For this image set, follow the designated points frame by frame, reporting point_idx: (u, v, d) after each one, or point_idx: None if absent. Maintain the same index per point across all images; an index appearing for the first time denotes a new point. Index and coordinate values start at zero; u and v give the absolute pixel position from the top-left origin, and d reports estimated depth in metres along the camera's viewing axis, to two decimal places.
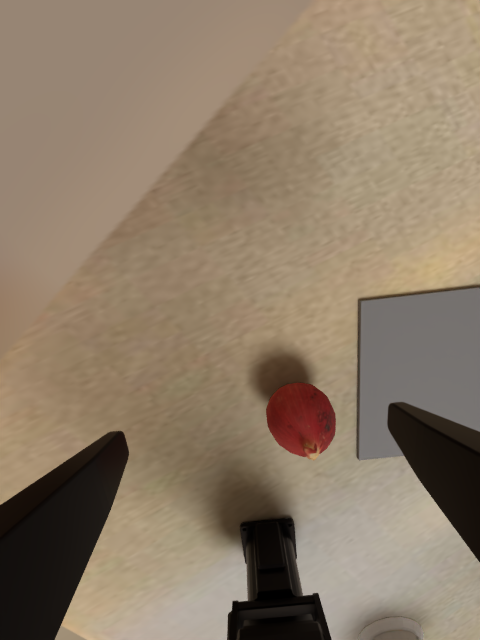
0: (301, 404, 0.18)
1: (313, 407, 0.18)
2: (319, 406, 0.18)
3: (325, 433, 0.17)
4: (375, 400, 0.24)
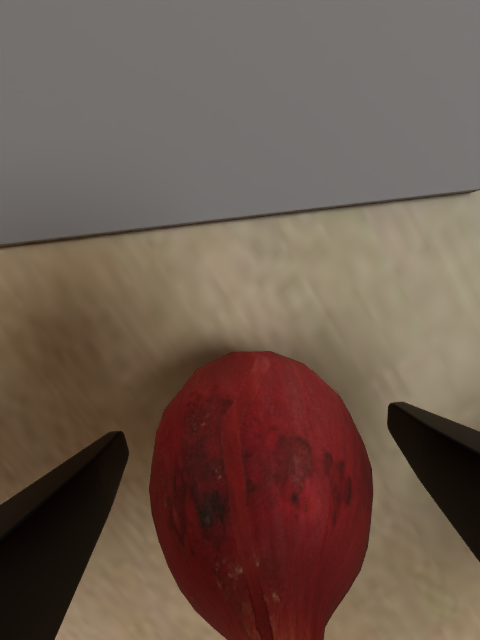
0: None
1: (158, 505, 0.05)
2: (161, 478, 0.05)
3: (227, 542, 0.04)
4: (273, 161, 0.08)
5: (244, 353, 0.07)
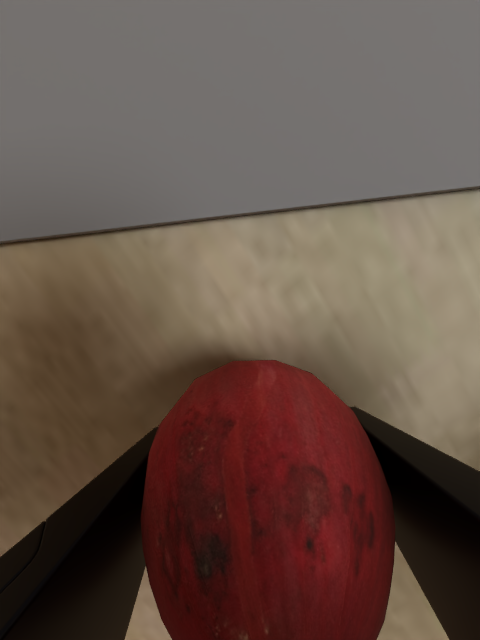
0: (148, 566, 0.05)
1: (149, 540, 0.04)
2: (153, 509, 0.04)
3: (229, 600, 0.03)
4: (277, 153, 0.07)
5: (247, 362, 0.06)
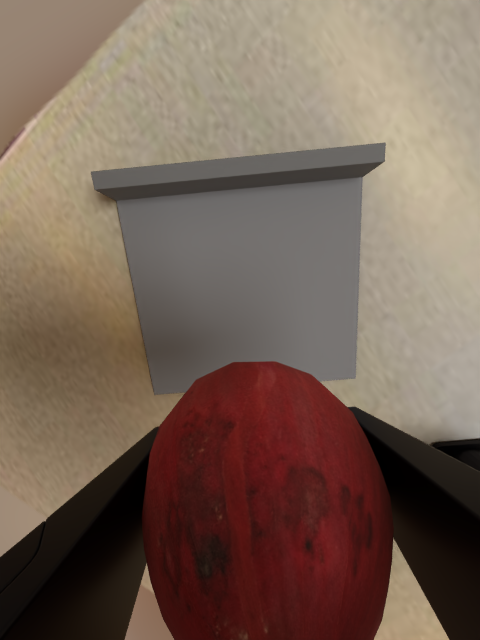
0: None
1: (150, 540, 0.04)
2: (154, 510, 0.04)
3: (230, 600, 0.03)
4: None
5: (247, 363, 0.06)
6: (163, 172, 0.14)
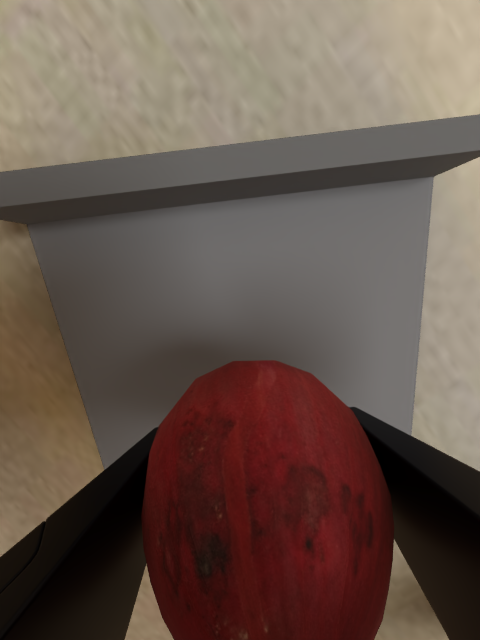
0: (149, 565, 0.05)
1: (149, 540, 0.04)
2: (154, 509, 0.04)
3: (230, 598, 0.03)
4: None
5: (247, 362, 0.06)
6: (84, 177, 0.07)
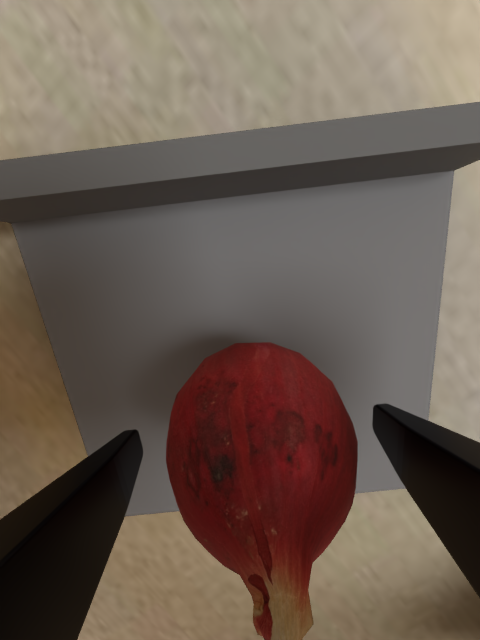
0: None
1: (175, 471, 0.06)
2: (178, 448, 0.06)
3: (234, 492, 0.04)
4: None
5: (247, 344, 0.08)
6: (68, 169, 0.07)
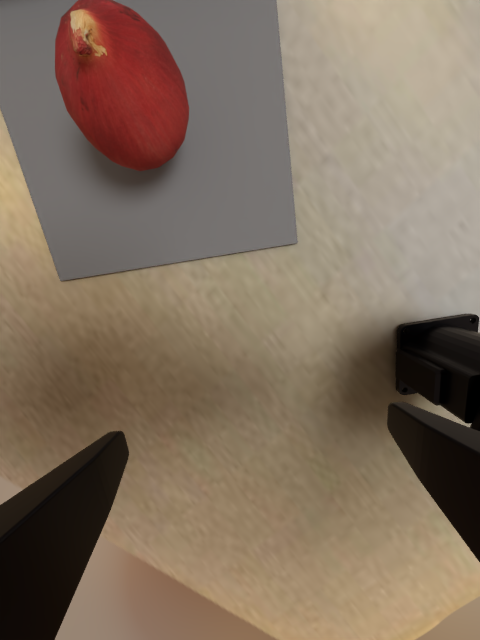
0: (59, 88, 0.10)
1: None
2: None
3: (69, 10, 0.08)
4: (195, 236, 0.17)
5: None
6: None
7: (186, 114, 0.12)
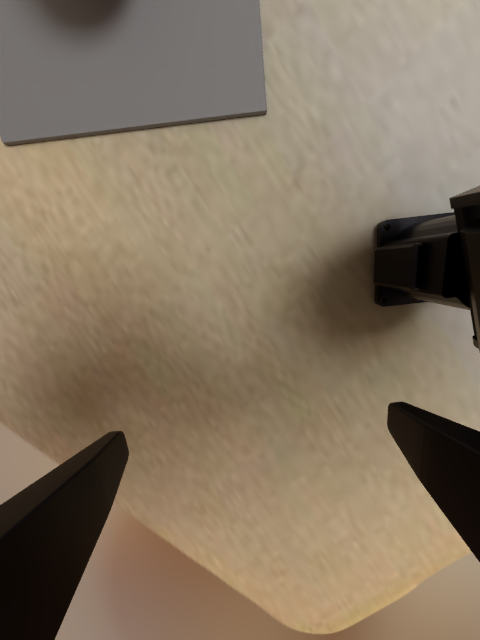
0: None
1: None
2: None
3: None
4: (152, 94, 0.15)
5: None
6: None
7: None
